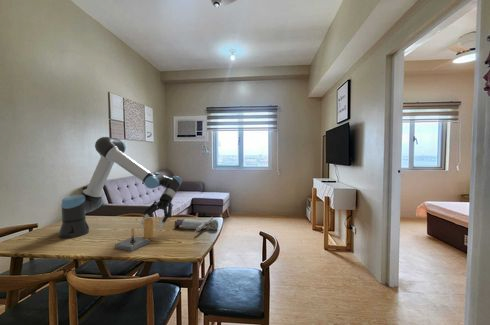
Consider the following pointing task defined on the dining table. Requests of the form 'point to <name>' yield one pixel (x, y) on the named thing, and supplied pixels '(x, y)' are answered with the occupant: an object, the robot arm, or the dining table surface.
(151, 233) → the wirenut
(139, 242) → the grey base with peg
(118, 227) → the dining table surface
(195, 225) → the toy
